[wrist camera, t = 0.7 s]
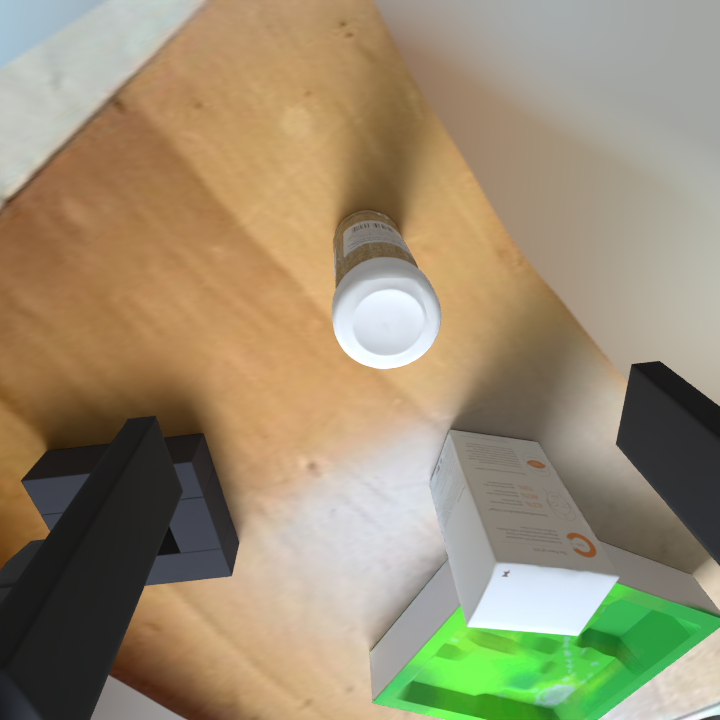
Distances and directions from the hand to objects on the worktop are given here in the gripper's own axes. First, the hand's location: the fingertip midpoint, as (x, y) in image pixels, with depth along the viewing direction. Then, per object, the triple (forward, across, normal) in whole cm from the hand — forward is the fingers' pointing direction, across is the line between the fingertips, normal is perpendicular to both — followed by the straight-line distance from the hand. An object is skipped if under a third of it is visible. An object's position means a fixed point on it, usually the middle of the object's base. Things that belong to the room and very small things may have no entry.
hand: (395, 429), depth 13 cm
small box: (+20, +9, -20) cm, 30 cm away
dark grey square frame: (+20, -20, -20) cm, 35 cm away
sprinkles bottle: (+20, 0, 0) cm, 20 cm away
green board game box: (+20, +14, -42) cm, 48 cm away
